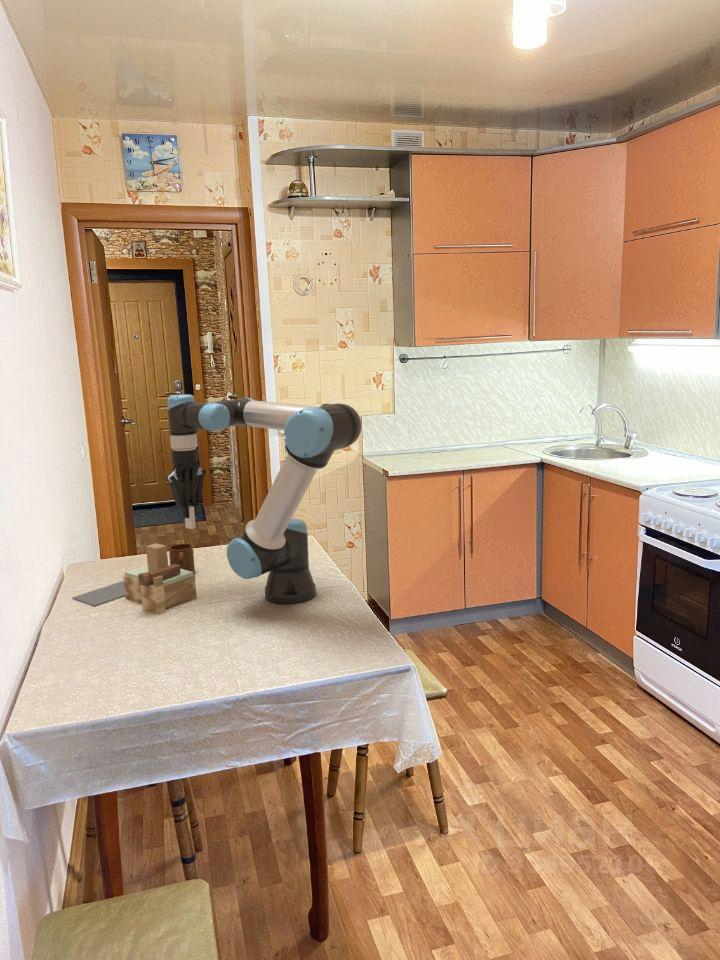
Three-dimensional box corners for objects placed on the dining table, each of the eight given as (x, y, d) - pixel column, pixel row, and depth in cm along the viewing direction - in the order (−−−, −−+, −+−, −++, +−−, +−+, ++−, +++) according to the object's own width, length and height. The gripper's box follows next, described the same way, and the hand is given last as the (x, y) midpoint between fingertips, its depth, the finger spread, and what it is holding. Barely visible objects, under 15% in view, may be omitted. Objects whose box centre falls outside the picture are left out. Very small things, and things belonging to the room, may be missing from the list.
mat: (152, 586, 222) (152, 585, 222) (94, 606, 207) (94, 605, 207) (129, 580, 230) (129, 578, 230) (72, 598, 214) (71, 597, 214)
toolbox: (199, 598, 210) (196, 564, 208) (158, 614, 199) (155, 578, 197) (159, 587, 222) (156, 554, 220) (118, 601, 211) (114, 567, 209)
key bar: (181, 574, 207) (180, 564, 206) (146, 586, 197) (145, 576, 197) (174, 572, 209) (173, 562, 208) (138, 584, 199) (137, 574, 199)
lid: (193, 579, 210) (190, 545, 208) (162, 590, 201) (159, 555, 199) (156, 569, 220) (153, 537, 218) (125, 579, 212) (121, 546, 210)
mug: (195, 580, 227) (193, 552, 225) (171, 583, 225) (168, 554, 223) (194, 569, 238) (192, 542, 236) (171, 572, 236) (168, 544, 235)
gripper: (193, 444, 213) (199, 521, 218) (157, 451, 203) (164, 531, 207) (210, 446, 208) (216, 524, 213) (174, 452, 198) (180, 534, 203)
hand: (190, 527), depth 210 cm, fingers closed
